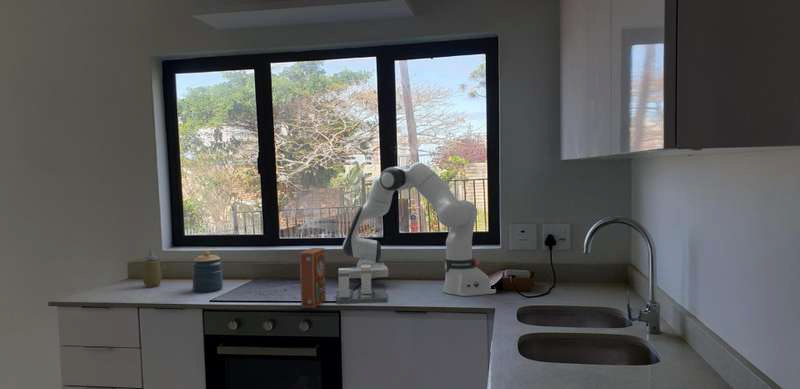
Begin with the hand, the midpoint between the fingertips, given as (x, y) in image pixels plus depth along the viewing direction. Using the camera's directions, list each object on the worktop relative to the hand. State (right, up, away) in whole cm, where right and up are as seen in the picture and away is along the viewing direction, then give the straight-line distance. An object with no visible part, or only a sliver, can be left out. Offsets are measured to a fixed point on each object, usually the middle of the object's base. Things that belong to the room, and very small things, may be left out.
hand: (366, 275), depth 213 cm
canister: (-73, -8, +8) cm, 74 cm away
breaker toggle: (+1, -5, -12) cm, 13 cm away
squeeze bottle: (-102, -8, +17) cm, 104 cm away
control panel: (-19, -8, -21) cm, 30 cm away
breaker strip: (-1, -7, -14) cm, 15 cm away
